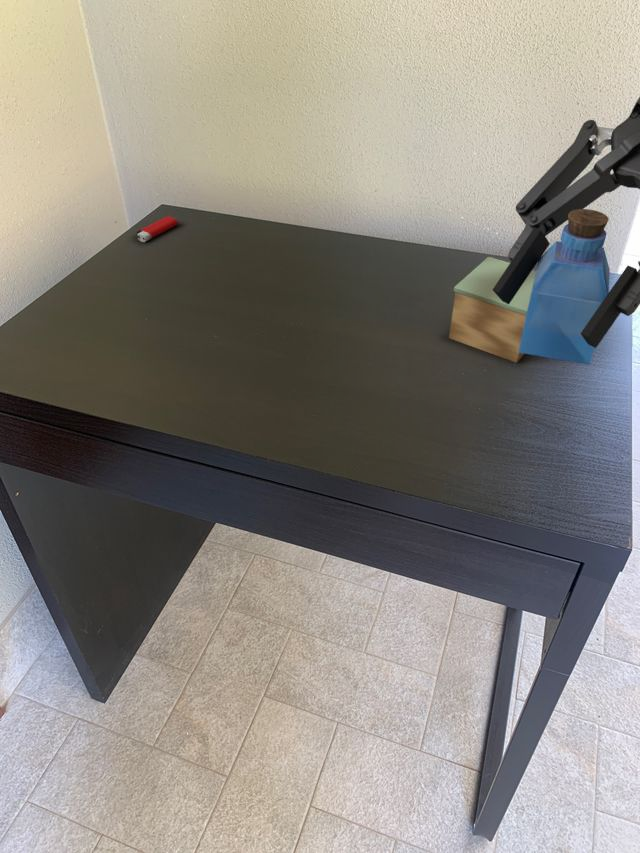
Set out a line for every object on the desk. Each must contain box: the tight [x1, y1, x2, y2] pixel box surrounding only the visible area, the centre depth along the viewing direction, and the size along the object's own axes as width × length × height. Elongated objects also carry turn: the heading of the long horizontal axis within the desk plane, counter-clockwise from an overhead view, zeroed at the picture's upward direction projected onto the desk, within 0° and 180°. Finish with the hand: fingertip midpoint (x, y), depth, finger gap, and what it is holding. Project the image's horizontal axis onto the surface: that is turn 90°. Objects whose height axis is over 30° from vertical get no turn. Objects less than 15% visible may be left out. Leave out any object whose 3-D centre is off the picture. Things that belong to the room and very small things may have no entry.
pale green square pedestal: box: [448, 256, 536, 364], centre depth 92 cm, size 10×10×8 cm
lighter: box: [136, 215, 179, 243], centre depth 119 cm, size 3×1×8 cm
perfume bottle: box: [519, 208, 611, 365], centre depth 60 cm, size 6×6×12 cm
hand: (542, 318), depth 60 cm, fingers closed on perfume bottle, 8 cm apart
